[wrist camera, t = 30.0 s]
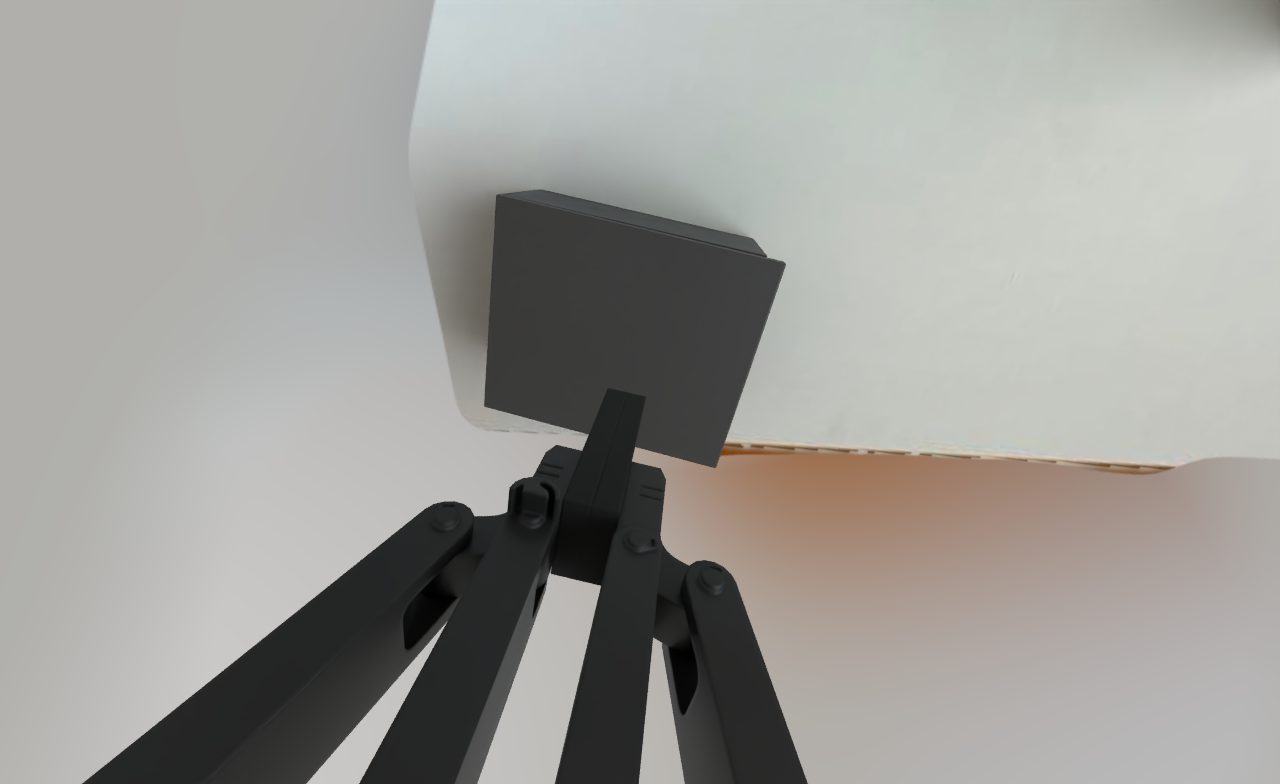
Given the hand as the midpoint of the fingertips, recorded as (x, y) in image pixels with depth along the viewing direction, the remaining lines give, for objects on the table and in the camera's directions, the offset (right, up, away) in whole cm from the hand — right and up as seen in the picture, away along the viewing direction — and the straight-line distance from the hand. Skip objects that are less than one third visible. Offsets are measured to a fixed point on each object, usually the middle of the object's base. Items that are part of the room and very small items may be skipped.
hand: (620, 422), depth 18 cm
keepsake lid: (-1, +5, +15) cm, 15 cm away
